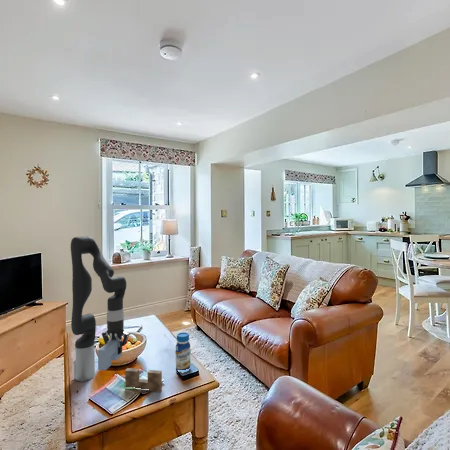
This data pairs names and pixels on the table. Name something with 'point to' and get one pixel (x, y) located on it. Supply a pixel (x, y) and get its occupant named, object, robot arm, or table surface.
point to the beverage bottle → (183, 352)
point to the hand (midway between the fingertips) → (115, 353)
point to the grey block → (108, 354)
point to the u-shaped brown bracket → (144, 380)
